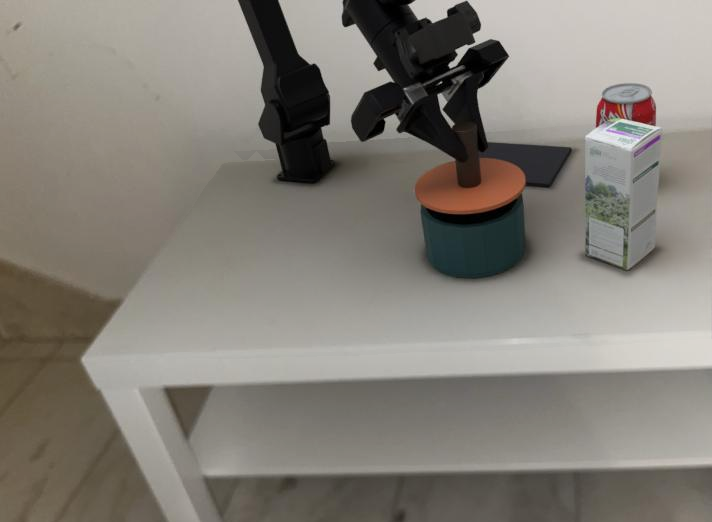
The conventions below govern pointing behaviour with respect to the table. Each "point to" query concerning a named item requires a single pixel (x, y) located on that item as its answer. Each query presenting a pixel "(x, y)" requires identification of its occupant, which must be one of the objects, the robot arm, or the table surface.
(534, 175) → the mat
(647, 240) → the syrup box
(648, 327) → the table surface
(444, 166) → the lid
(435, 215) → the round pot
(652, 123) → the soda can
